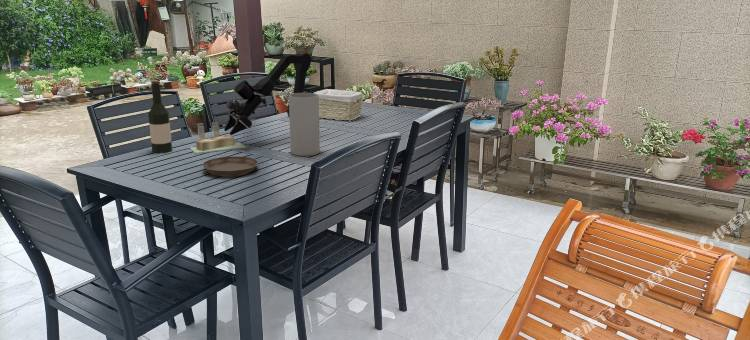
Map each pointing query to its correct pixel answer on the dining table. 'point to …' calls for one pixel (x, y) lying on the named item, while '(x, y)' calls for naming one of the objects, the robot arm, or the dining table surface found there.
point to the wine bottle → (159, 123)
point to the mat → (236, 146)
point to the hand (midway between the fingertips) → (227, 132)
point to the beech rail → (214, 143)
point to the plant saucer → (230, 166)
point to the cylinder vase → (304, 124)
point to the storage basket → (339, 104)
